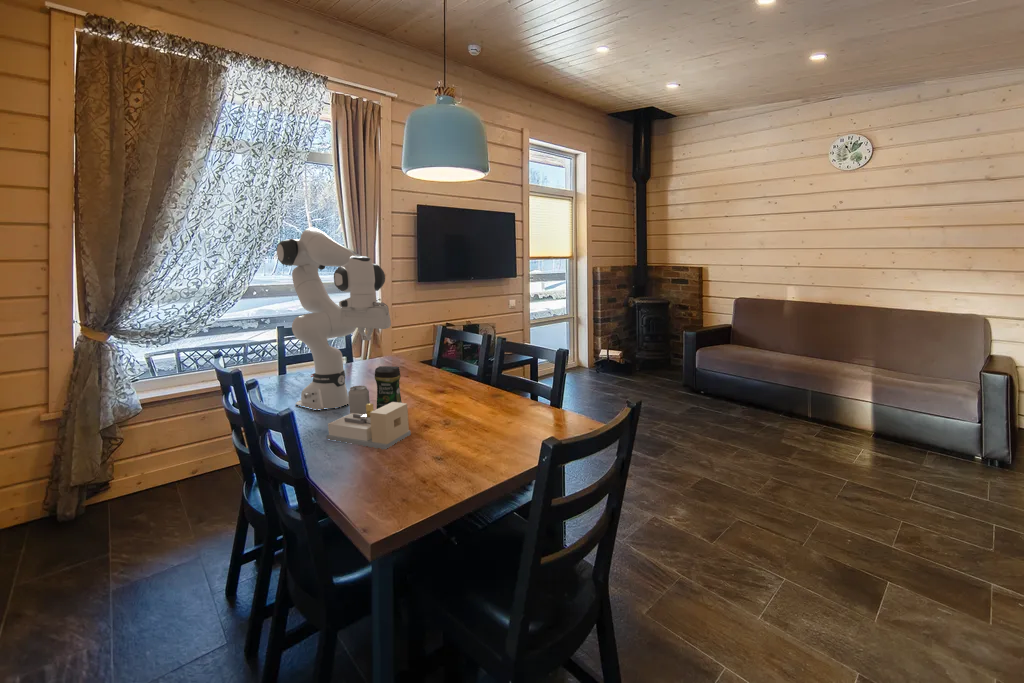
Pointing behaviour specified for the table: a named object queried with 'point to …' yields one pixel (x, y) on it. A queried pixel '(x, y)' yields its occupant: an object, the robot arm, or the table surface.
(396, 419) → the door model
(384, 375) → the coffee jar
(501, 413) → the table surface
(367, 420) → the bolt
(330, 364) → the robot arm
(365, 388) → the can
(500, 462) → the table surface
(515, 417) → the table surface
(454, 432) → the table surface
